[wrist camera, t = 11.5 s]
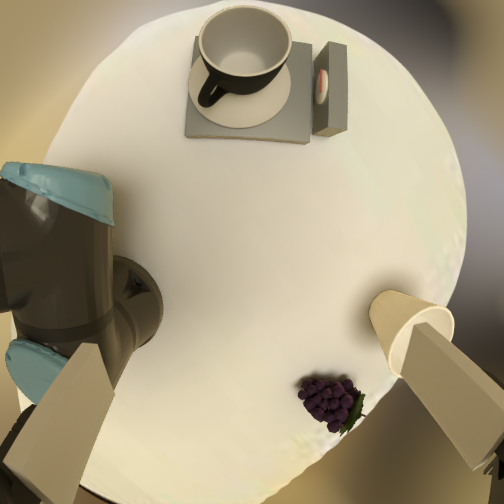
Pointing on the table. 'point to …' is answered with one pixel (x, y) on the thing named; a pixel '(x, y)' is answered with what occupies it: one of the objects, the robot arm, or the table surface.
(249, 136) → the scale
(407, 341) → the cup
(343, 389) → the fruit
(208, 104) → the mug
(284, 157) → the table surface
